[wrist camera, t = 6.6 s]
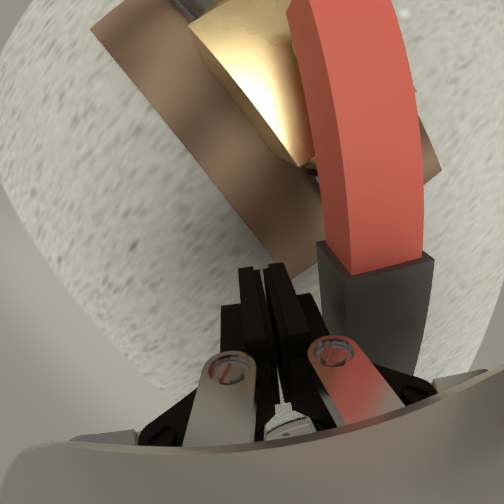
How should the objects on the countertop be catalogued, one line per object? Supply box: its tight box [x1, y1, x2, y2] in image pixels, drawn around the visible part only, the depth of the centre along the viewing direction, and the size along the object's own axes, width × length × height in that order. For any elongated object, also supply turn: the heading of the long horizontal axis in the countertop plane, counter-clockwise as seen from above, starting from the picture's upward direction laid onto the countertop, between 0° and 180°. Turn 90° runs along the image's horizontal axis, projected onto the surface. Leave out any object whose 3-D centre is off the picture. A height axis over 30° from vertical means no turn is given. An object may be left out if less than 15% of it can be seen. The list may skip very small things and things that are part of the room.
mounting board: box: [90, 0, 442, 280], centre depth 15 cm, size 22×14×2 cm, turn 36°
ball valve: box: [169, 0, 417, 195], centre depth 12 cm, size 18×6×6 cm, turn 36°
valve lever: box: [286, 0, 435, 376], centre depth 9 cm, size 3×14×4 cm, turn 11°
